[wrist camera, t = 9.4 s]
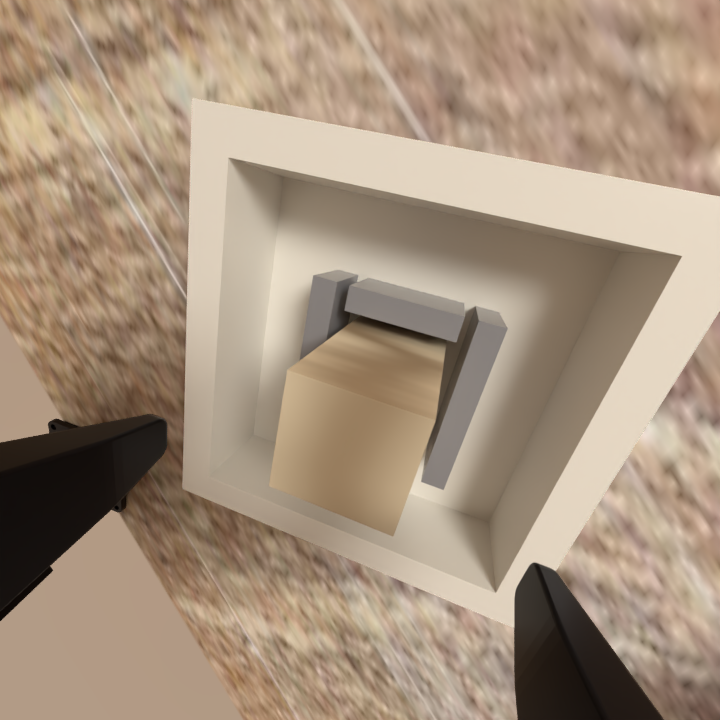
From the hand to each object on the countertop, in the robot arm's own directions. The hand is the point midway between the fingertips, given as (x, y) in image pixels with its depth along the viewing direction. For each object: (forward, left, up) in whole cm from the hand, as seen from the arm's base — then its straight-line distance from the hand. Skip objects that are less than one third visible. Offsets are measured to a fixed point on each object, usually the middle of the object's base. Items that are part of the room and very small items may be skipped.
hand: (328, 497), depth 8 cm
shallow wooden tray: (0, 0, -11) cm, 11 cm away
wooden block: (0, 0, -10) cm, 10 cm away
